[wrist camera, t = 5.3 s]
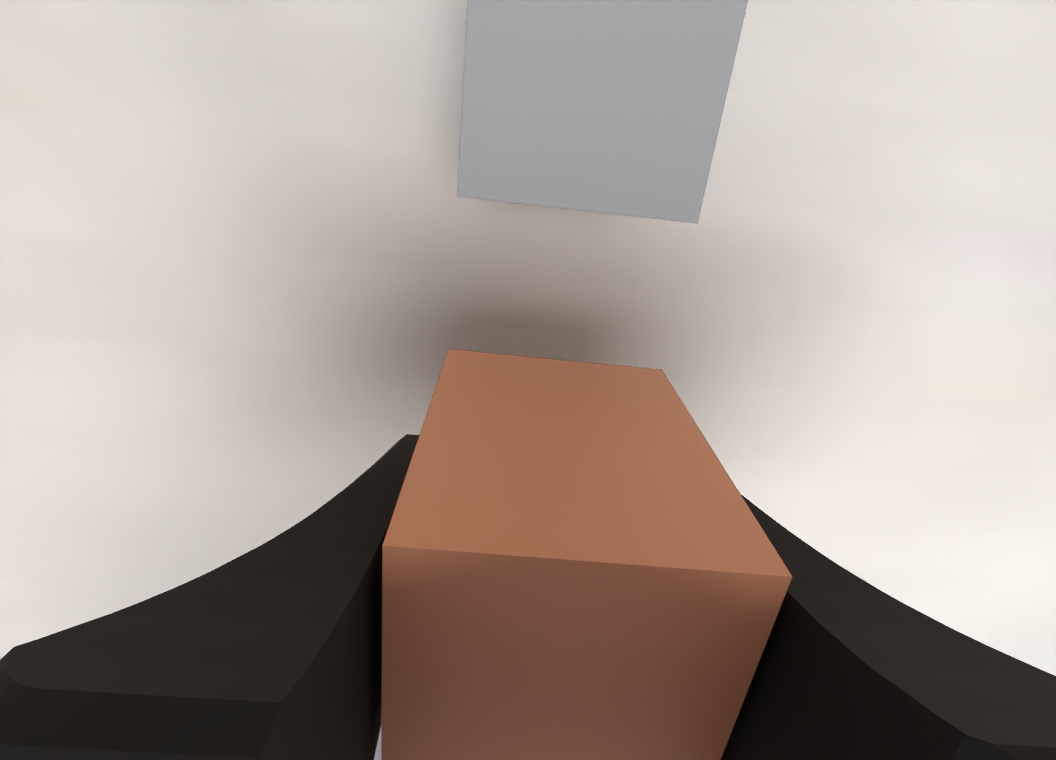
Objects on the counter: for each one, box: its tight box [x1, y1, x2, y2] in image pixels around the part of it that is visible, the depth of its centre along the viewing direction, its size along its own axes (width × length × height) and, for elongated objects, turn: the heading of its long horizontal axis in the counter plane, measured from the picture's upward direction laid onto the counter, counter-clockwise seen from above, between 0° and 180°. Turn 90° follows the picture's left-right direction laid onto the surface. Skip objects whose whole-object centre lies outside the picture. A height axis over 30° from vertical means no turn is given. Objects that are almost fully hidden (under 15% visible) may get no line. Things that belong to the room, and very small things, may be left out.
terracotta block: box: [381, 349, 792, 760], centre depth 10 cm, size 4×4×6 cm
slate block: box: [457, 0, 748, 223], centre depth 12 cm, size 4×4×6 cm
